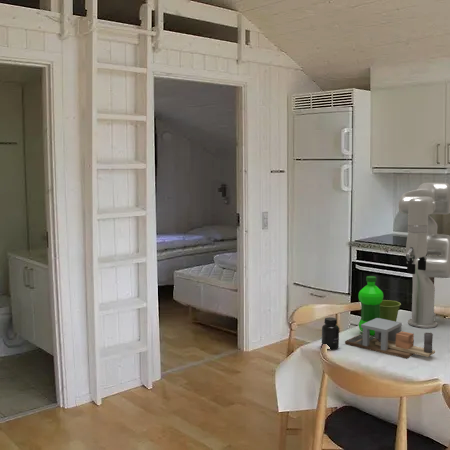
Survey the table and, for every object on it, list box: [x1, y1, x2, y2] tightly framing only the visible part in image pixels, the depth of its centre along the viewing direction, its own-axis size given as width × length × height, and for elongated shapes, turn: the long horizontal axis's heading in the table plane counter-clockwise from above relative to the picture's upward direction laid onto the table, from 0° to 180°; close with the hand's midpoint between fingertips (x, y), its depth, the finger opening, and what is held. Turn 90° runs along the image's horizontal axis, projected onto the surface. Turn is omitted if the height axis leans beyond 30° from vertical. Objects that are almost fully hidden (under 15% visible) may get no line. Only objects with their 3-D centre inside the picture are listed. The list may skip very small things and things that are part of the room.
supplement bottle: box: [321, 316, 340, 351], centre depth 239 cm, size 7×7×12 cm
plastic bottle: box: [358, 275, 384, 337], centre depth 256 cm, size 10×10×25 cm
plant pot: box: [380, 299, 402, 322], centre depth 266 cm, size 12×12×11 cm
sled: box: [375, 330, 436, 358], centre depth 233 cm, size 6×22×8 cm, turn 47°
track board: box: [344, 334, 415, 360], centre depth 240 cm, size 12×27×1 cm, turn 48°
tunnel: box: [361, 318, 403, 351], centre depth 239 cm, size 13×11×8 cm
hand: (416, 271), depth 238 cm, fingers open, 9 cm apart
